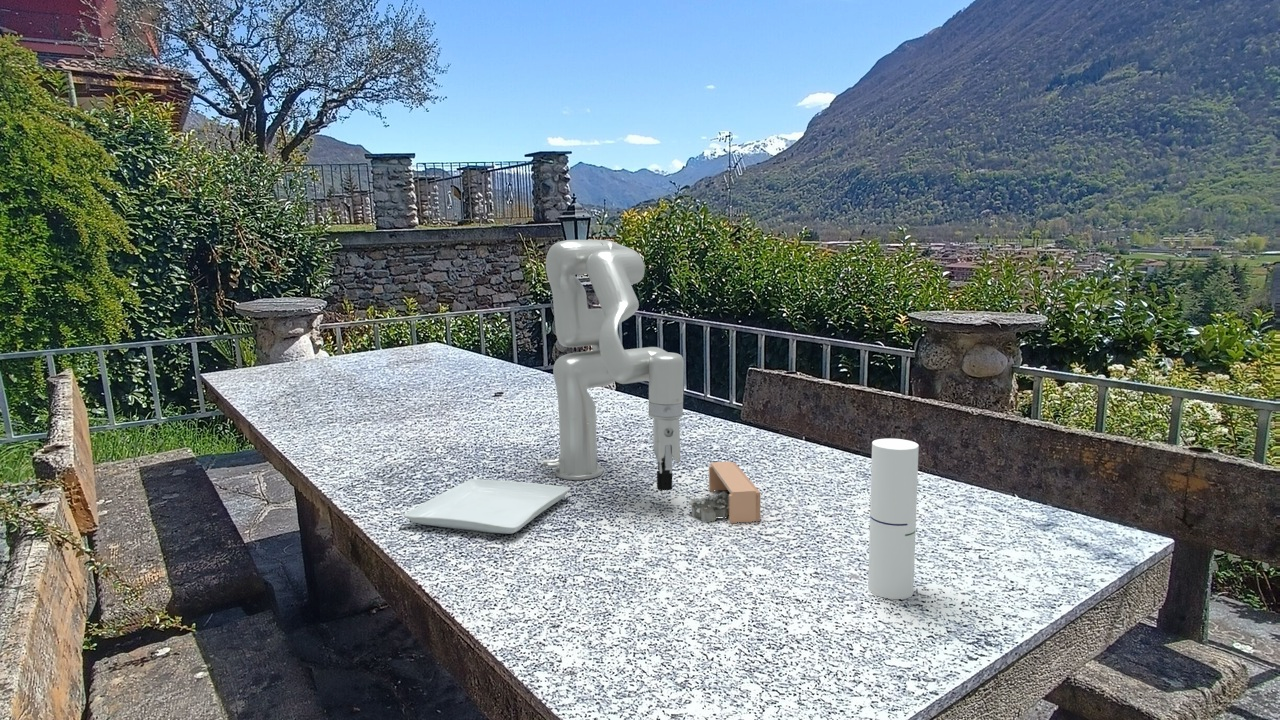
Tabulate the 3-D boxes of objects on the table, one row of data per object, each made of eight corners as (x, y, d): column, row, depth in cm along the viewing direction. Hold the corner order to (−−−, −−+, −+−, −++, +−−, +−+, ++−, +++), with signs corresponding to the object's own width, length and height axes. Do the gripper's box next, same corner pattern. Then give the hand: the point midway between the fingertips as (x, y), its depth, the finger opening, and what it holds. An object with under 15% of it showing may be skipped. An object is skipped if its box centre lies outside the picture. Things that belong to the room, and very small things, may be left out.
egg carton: (706, 525, 154) (705, 506, 153) (685, 515, 160) (685, 496, 160) (746, 515, 159) (746, 497, 159) (725, 505, 166) (725, 488, 165)
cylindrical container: (861, 581, 126) (865, 439, 122) (901, 579, 126) (906, 437, 123) (878, 600, 119) (882, 450, 115) (921, 598, 119) (926, 448, 116)
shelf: (730, 523, 154) (729, 492, 153) (708, 490, 176) (708, 462, 175) (760, 521, 155) (760, 490, 154) (735, 488, 177) (735, 461, 176)
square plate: (573, 501, 171) (572, 485, 171) (516, 545, 146) (515, 526, 145) (471, 490, 180) (471, 475, 179) (401, 530, 154) (400, 513, 154)
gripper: (688, 417, 154) (686, 500, 157) (677, 401, 169) (675, 477, 172) (652, 418, 153) (651, 501, 156) (644, 401, 168) (644, 478, 171)
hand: (664, 488), depth 164 cm, fingers closed
